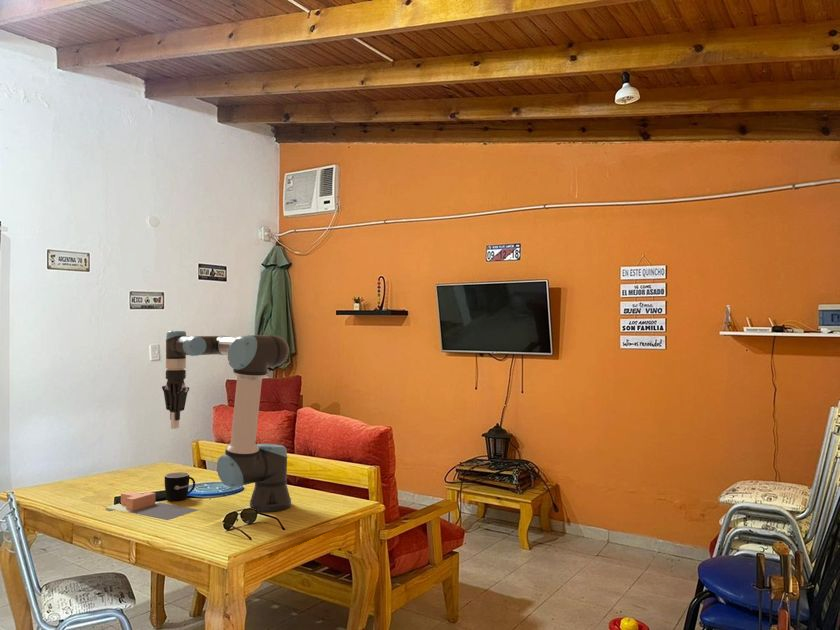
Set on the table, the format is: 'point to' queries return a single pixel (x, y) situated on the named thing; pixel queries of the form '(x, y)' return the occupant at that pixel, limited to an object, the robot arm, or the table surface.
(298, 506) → the table surface
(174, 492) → the mug
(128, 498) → the t block
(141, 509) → the mat
